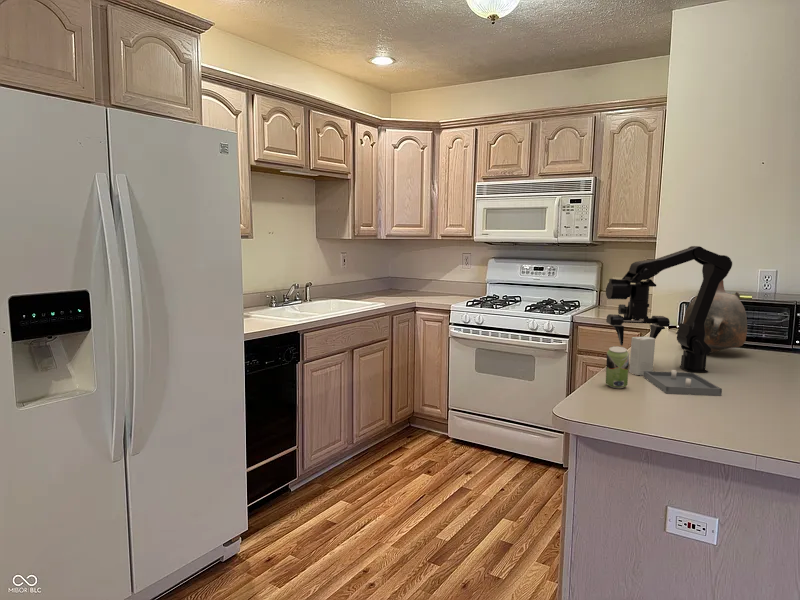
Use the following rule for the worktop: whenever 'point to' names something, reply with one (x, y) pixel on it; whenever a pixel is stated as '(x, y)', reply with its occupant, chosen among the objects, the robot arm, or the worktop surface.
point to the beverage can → (617, 367)
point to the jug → (723, 321)
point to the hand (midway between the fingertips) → (635, 345)
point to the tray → (682, 383)
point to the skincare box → (641, 355)
